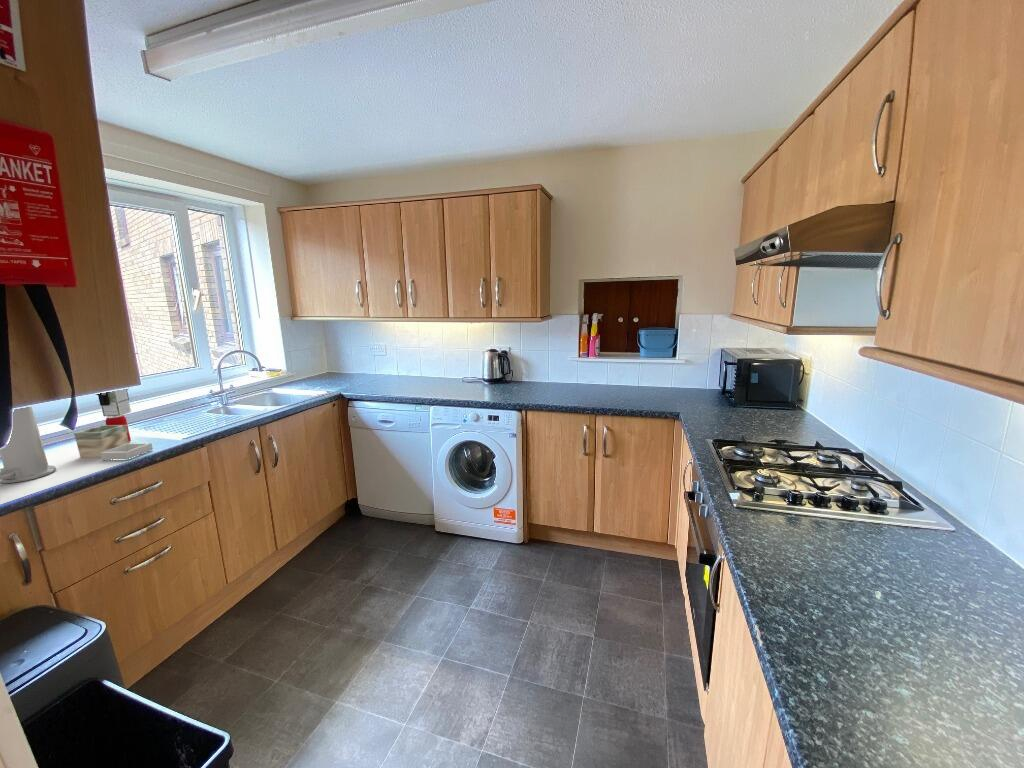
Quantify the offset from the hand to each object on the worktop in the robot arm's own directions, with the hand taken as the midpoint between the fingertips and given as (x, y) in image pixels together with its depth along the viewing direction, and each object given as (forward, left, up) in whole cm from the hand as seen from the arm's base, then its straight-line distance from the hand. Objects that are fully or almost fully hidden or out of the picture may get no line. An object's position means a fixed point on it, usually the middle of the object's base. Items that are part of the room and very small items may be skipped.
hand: (115, 402), depth 155 cm
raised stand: (+4, +13, -21) cm, 25 cm away
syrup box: (0, 0, -5) cm, 5 cm away
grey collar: (0, 0, -21) cm, 21 cm away
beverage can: (+14, +17, -21) cm, 30 cm away
